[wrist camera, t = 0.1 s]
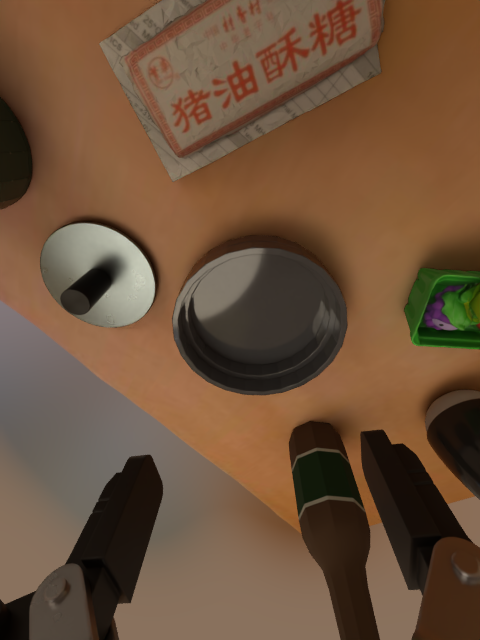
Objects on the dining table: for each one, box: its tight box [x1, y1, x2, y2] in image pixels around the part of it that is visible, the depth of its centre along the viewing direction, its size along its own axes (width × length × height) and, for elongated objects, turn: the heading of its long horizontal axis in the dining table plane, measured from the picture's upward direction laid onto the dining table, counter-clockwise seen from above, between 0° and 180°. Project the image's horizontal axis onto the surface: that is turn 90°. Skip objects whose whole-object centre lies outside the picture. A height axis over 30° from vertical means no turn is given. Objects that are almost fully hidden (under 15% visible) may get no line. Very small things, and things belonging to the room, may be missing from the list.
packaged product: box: [99, 0, 385, 182], centre depth 20 cm, size 18×5×10 cm
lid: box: [40, 222, 156, 327], centre depth 29 cm, size 12×12×6 cm
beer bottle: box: [289, 421, 380, 640], centre depth 34 cm, size 8×8×24 cm
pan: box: [172, 235, 347, 395], centre depth 32 cm, size 17×17×4 cm
